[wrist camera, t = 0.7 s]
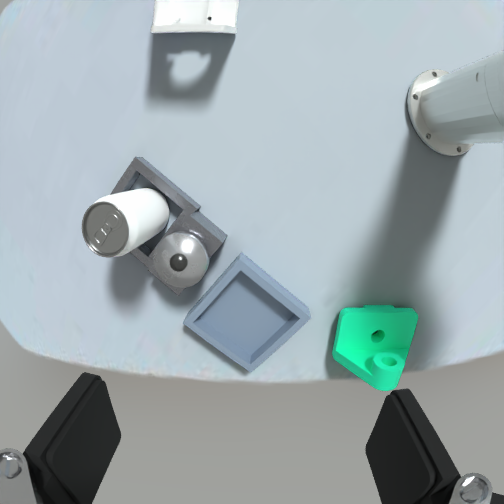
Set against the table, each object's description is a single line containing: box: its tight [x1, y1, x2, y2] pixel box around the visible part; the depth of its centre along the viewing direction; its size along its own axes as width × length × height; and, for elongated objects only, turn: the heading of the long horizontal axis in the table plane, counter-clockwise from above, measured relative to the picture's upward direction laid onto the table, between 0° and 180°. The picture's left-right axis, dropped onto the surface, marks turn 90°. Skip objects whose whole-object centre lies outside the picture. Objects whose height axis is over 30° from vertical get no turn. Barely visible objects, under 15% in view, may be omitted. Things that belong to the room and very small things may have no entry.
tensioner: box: [110, 157, 227, 296], centre depth 36 cm, size 10×16×6 cm, turn 49°
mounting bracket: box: [151, 0, 239, 34], centre depth 27 cm, size 12×6×11 cm, turn 82°
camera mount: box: [332, 305, 418, 391], centre depth 37 cm, size 12×8×10 cm, turn 88°
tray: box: [183, 252, 311, 372], centre depth 40 cm, size 12×12×3 cm
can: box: [82, 188, 169, 257], centre depth 33 cm, size 6×6×12 cm
